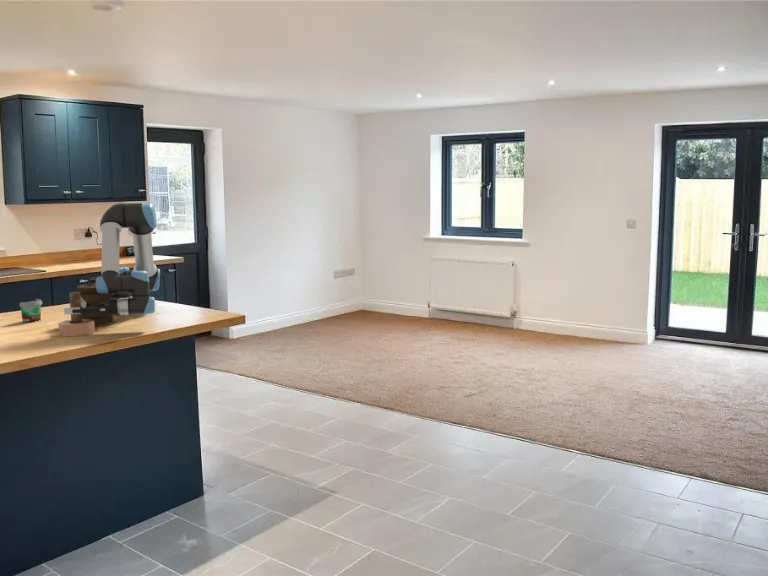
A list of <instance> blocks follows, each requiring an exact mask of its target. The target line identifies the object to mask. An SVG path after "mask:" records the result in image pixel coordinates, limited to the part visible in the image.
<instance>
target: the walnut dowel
mask: <svg viewBox="0 0 768 576" xmlns="http://www.w3.org/2000/svg"><path fill="white" fill-rule="evenodd" d="M68 297H69V308H78V307H80V306H81V298H80V292H77V291H72V292H69V295H68ZM70 320H71V323H81V322H82V314H70Z"/></svg>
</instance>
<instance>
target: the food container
mask: <svg viewBox="0 0 768 576" xmlns="http://www.w3.org/2000/svg"><path fill="white" fill-rule="evenodd" d="M42 305H43V301H42V300H41V298H35V300H32V301H27V302H26V301H24V302H19V308H20V313H21V320H22V323H23V322H30V323H36V322H35V321H38V322H40V321H41V320H42V319H41V317H42V315H41V314H42V310H41V309H42ZM39 320H40V321H39Z"/></svg>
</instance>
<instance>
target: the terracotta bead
mask: <svg viewBox="0 0 768 576" xmlns="http://www.w3.org/2000/svg"><path fill="white" fill-rule="evenodd" d="M95 327H96V326H95V325H94V320H91V319H82V322H81V323H71V319H67V320H63V321H61V322H58V334H59V335H60V334H61V335H60V336H63V337H78V336H77V335H80V336H85V335H84V334H87V335H90V333H91V334H93V333H95V332H96V328H95ZM94 331H95V332H94ZM92 332H93V333H92Z"/></svg>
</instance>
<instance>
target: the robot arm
mask: <svg viewBox="0 0 768 576" xmlns="http://www.w3.org/2000/svg"><path fill="white" fill-rule="evenodd" d="M157 221H158V219H157V213H156V209H155V206H154V205H153V204H152V203H149V202H148V203H147V202H136V203H135V202H132V203H131V202H129V203H128V202H127V203H125V202H124V203H122V202H119V203H116V204H115V203H114V204H113V205H111V206H110V207H109V208H107V209H106V211H105V212H104V213H103V215H102V217H101V219H100V222H99V231H100V232H101V273H100V274H101V276H97V277H95V278H96V289H97V292H98V293H103V294H108V293H111V299H109V302H87V304H86V303H81V306H80V307H78V308H70V307H64V308H63V313H64V315H71V314H82V315H84V314H92V313H105V311H109V314H110V315H113V316H125V317H127V316H129V315H146V314H147V315H148V314H149V315H150V314H154V313H155V311H156V299H155V298H156V297H154V296H151V295H150V294H151V292H154V291H156V292H157V291H159V288H160V282H161V269H160V268H157V265H156V264H154V253H153V252H154V251H153V241H152V240H153V239H152V232H153V231H154V230H155V228H157V226H158V222H157ZM123 229H128V230H129V232H130V233H131V234H132V240H133V251H134V260H135V261H134V263H135V265H134V266H133V269H130V268H129V266H120V240H121V239H120V238H121V237H120V236H121V235H120V233H121V232H122V230H123ZM131 296H132V297H131Z"/></svg>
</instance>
